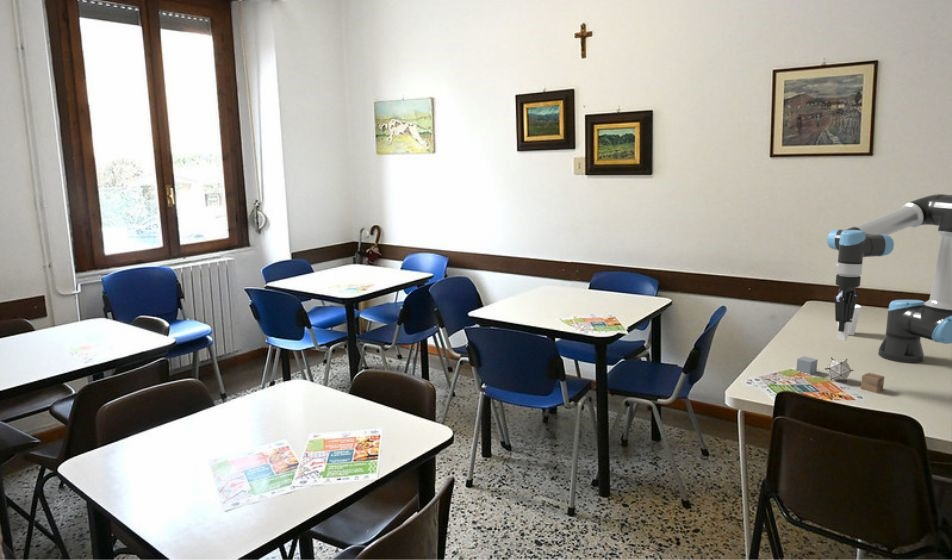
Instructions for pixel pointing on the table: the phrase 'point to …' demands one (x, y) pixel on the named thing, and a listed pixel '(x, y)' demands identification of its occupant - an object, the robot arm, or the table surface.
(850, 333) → the foam cup
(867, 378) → the walnut block
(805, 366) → the grey block
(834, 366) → the white icosahedron
